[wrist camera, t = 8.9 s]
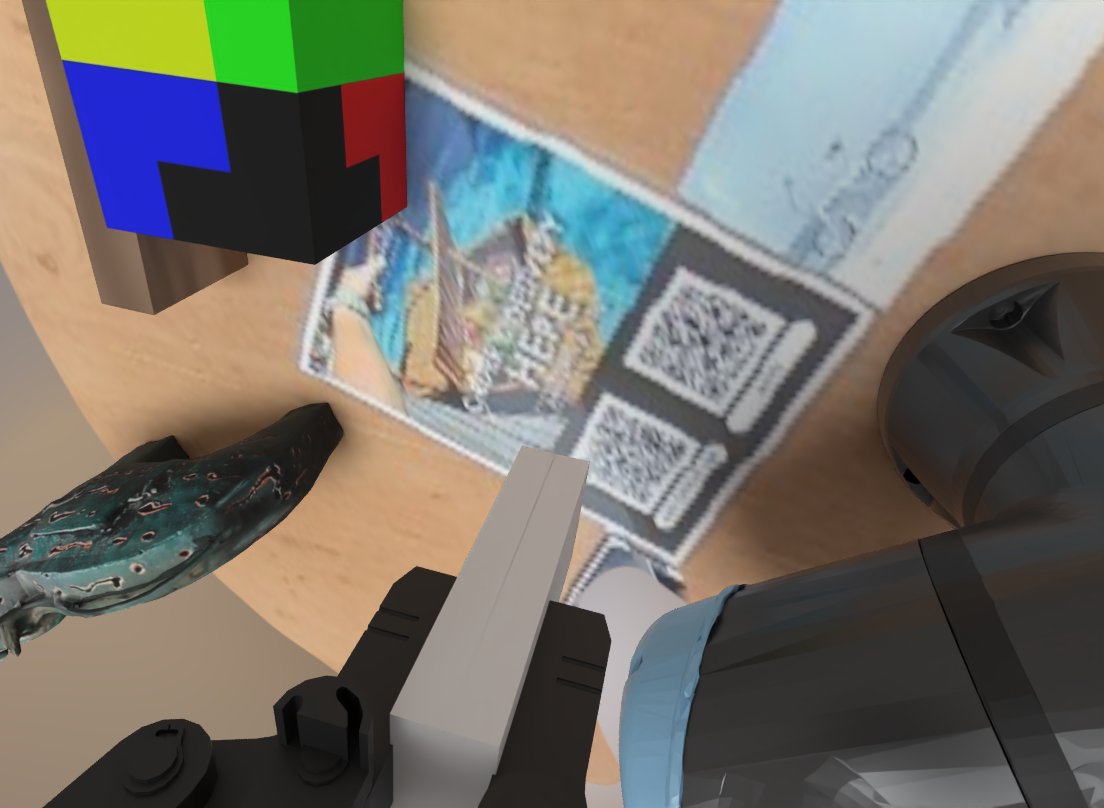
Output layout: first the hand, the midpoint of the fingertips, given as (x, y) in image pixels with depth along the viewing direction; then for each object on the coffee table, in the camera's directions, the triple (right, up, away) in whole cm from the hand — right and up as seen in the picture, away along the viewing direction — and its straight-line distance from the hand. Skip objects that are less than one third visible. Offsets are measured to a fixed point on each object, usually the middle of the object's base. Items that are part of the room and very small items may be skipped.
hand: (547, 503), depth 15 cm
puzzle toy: (-12, +18, +20) cm, 30 cm away
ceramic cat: (-23, 0, +34) cm, 41 cm away
